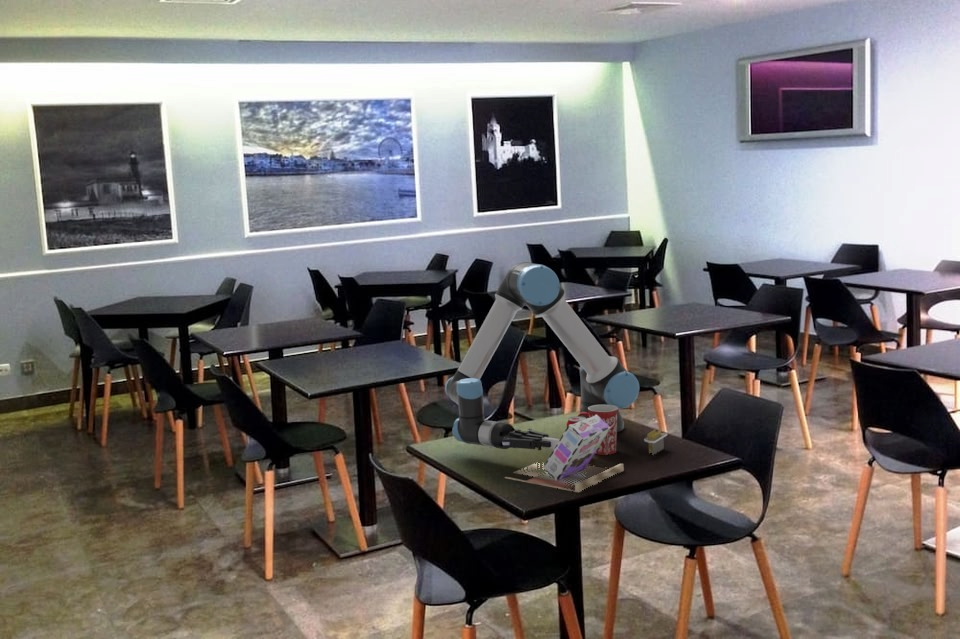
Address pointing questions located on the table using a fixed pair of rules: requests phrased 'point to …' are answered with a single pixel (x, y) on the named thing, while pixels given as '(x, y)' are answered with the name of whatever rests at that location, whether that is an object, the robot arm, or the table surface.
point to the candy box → (576, 447)
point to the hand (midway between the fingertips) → (562, 445)
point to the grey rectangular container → (655, 441)
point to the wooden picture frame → (561, 484)
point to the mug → (610, 417)
